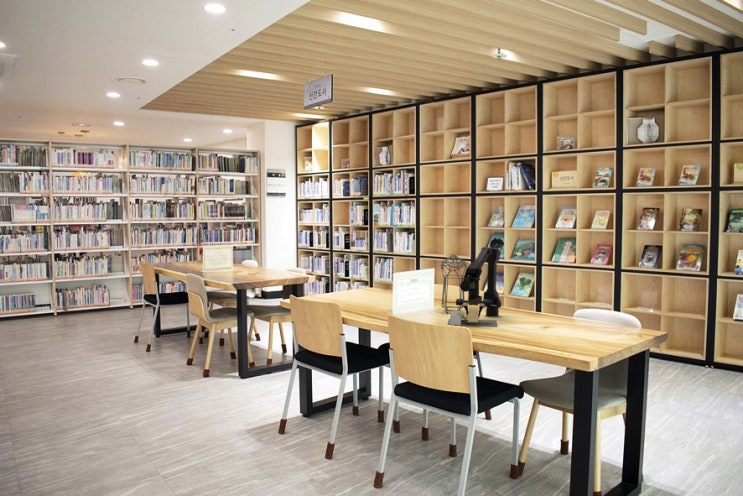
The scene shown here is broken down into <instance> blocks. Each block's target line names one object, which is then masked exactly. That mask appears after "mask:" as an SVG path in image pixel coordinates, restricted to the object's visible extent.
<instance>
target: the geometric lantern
mask: <svg viewBox="0 0 743 496" xmlns="http://www.w3.org/2000/svg"><path fill="white" fill-rule="evenodd" d="M450 259H451V261H449V260H450ZM448 261H449V262H448ZM458 261H459V262H458ZM467 265H468V263H467V261H465V260H463V259H462V258H461V257H459V256H457V254H451V255H449V256H448V257H446V258H445V259H444V260H442V261H440V269H441V271H442V278H443V283H442V284H443V286H442V297H441V308H443V309H444V310H445V314H449V312H451V310H452V309H454V308H456V309H454V310H455V311H462V309H463V308H464V307H462V305H457V306H452V305H451V306H450V305H449V306H448V304H456V301H455V302H453V301H451V302H450V301H448V290H449V289H448V287H449V286H448V285H449V276H451V277H452V279H457V280H458V285H459V288H458V289H459V293H460V295H459V299H463V300H465V292H464V291H462V290H461V288H460V285H461V282H463V281H464V279H463V278H464V275H465V272H466V269H467V267H468V266H467ZM445 268H446V269H447V270H448V273H447V272H446V269H445ZM461 268H464V269H463V272H461V271H460V269H461ZM452 269H453V270H452ZM457 271H459V272H460V274H458V273H457ZM451 272H455V274H450V273H451ZM444 273H445V274H444ZM453 276H457V277H453ZM449 308H452V309H449Z"/></svg>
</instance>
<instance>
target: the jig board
mask: <svg viewBox="0 0 743 496" xmlns="http://www.w3.org/2000/svg"><path fill="white" fill-rule="evenodd" d="M447 325H450V318H449V319H448V321H447ZM453 327H477V328H478V327H481V328H484V327H485V328H498V327H499V326H498V321H497V319H478V322H469V319H461V326H460V325H454V326H453Z"/></svg>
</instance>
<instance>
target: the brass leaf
mask: <svg viewBox="0 0 743 496" xmlns="http://www.w3.org/2000/svg"><path fill="white" fill-rule="evenodd" d="M468 312H469V313H466V312H465V313H463V314H464V319H469V322H478V320H479V318H478V313H479V307H478V306H477V307H475V306H468Z"/></svg>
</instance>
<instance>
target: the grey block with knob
mask: <svg viewBox="0 0 743 496" xmlns="http://www.w3.org/2000/svg"><path fill="white" fill-rule="evenodd" d="M450 310H451V311H450V315H449V316H450V318H449V319H450V325H460V326H459V327H462V326H461V319H464V313H462V311H463V310H460V311H455V310H456V309H450Z"/></svg>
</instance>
